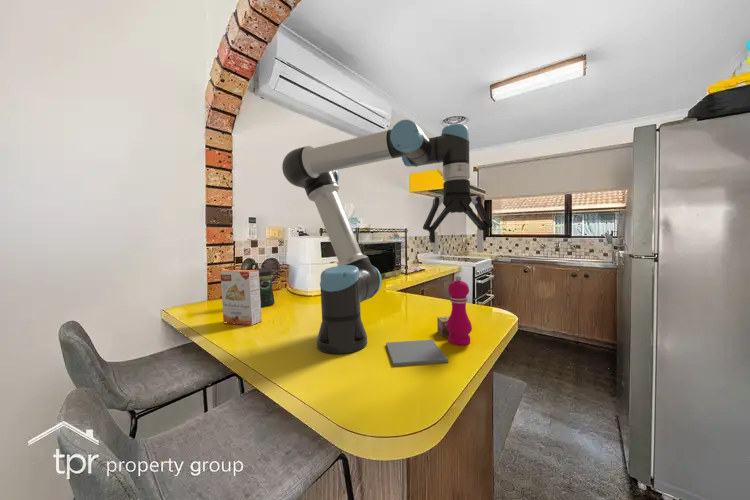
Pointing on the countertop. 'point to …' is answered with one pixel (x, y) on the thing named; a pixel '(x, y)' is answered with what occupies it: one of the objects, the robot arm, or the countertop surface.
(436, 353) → the grey mat
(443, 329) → the marked cube
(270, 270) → the coffee jar
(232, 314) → the cracker box
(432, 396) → the countertop surface
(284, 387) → the countertop surface
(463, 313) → the pepper mill
